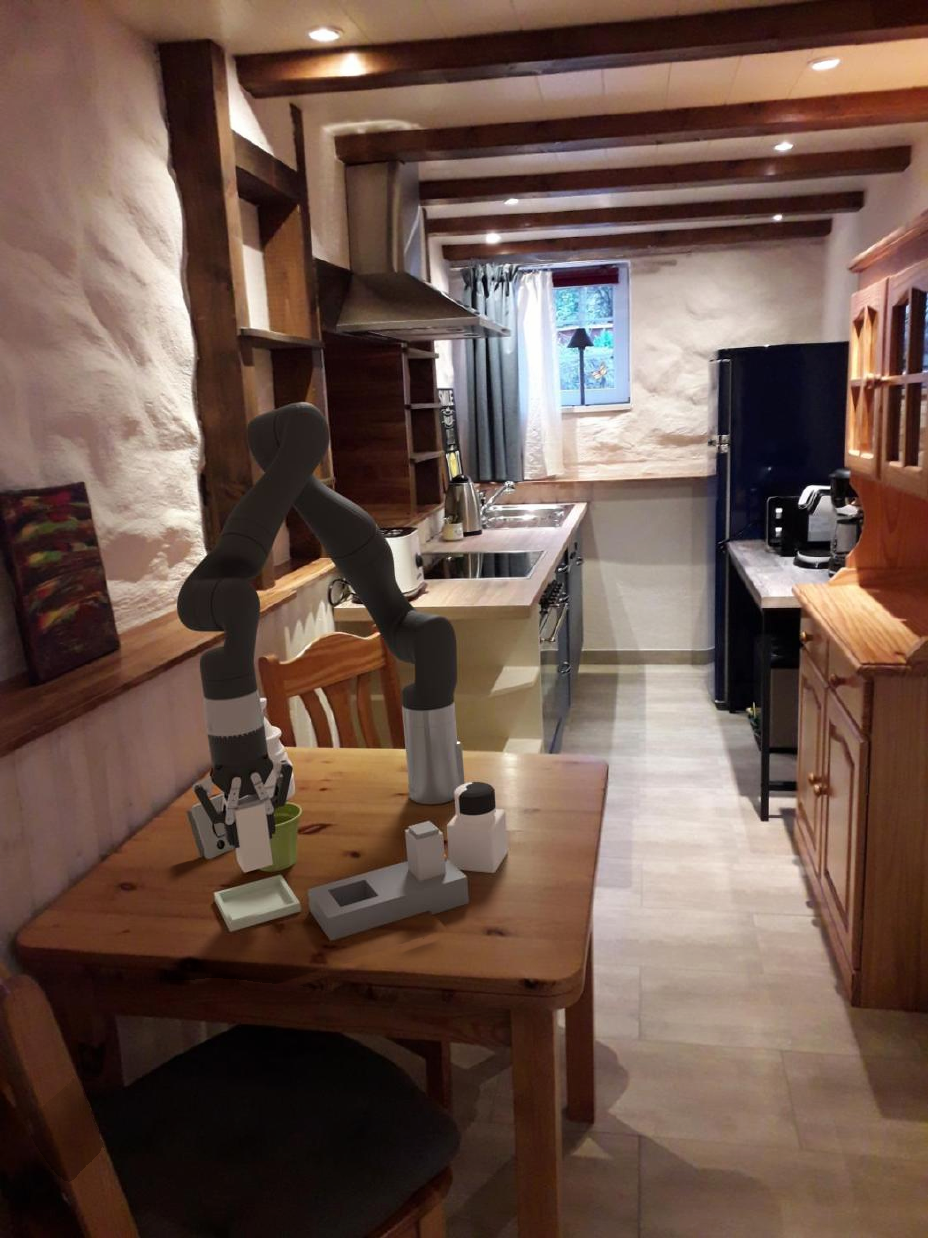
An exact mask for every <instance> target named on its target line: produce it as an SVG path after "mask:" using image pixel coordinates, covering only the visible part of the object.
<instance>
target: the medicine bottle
mask: <svg viewBox="0 0 928 1238" xmlns="http://www.w3.org/2000/svg"><path fill="white" fill-rule="evenodd" d="M454 796H455V799H454V806H455V815H454V816H453V817H452V818H451V820H450V821H449V822H448V823H447V825H446V835H447V849H448V860H449V861H450V862H451V863H452V864H453V865H455V866H456V867H457V868H458V869H459V870H460V871H469V872H476V873H477V872H478V873H479V872H480V873H487V874H488V873H489V874H494V873H496V871H497V869H499V867H500V865H501V864H502V862H503V860H504V859H505V857H506V856H507V853H508V851H509V849H508V836H507V819H506V811H505V810H504V809H497V807H496V806H497V805H496V790H495V788H494V787H493V786H492V785H491V784H489V783H487V782H482V781H471V782H470V781H469V782H466V783H465V784H463V785H461V786H459V787H458V788H457V789H456V790H455V792H454Z"/></svg>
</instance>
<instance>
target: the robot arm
mask: <svg viewBox="0 0 928 1238" xmlns="http://www.w3.org/2000/svg"><path fill="white" fill-rule="evenodd" d="M329 428H330V427H329V424H328V422H327V419H326V418H325V415H324V414H323V413H322V411H321V410H320V409H319V408H318V407H316V406H315V405H314V404H312V403H310V402H305V401H300V402H293V403H290V404H287V405H284V406H281V407H278V408H276V409H273V410H271V411H266V412H265V413H262V414H259V415H257V416H256V417H253V418H251V420H250V421H249V423H248V425H247V426H246V438H245V439H246V443H247V446H248V449H249V451H250V454H251V455H252V457H253V459H254V461H255V462H256V463H257V465H258V467H259V468H260V469H261V471H262V472H263V474H262V475H261V476H260V478H259V479H258V480H257V481H256V482H255V483H254V485H253V486H252V487H251V488H250V489H248V490H247V492H246V493H245V494H244V495H243V496H242V497H241V499H240V500H239V501H238V502H237V503H236V505H234V506H235V507H233V508H232V511H231V512H230V513H229V515H228V517H227V519H226V521H225V523H224V526H223V528H222V530H221V532H220V534H219V537H218V538H217V541H216V542H215V545H214V547H213V548H212V549H211V550H210V551H209V553H208V554H207V555H205V556H204V558H203V559H202V560H201V561H200V562H199V563H198V565H197V566H196V567H195V568H194V569H193V570H192V571H191V572H190V574H189V575H188V576H187V577H186V579H185V580H184V582H183V584H182V585H181V587H180V589H179V590H180V591H179V593H178V595H177V601H176V611H177V616H178V618H179V620H180V622H181V624H182V625H183V626H184V627H185V628H187V629H188V630H191V631H194V632H204V633H207V632H208V633H209V632H210V633H213V632H214V633H215V632H216V633H217V632H219V633H220V632H221V633H222V632H223V633H225V638H224V643H223V645H221V646H217V647H213V648H211V649H209V650H207V651H205V652H204V653H203V654H202V655H201V656H200V659H199V670H200V671H199V672H200V678H201V680H200V681H201V684H202V686H201V687H202V693H203V698H204V699H203V702H204V705H203V707H204V710H203V711H204V713H203V714H204V720H205V726H206V733H207V739H208V741H207V742H208V747H209V754H210V758H211V759H210V760H211V769H210V772H209V776H207V777H205V778H204V779H202V780H201V781H197V780H196V781H192V783H191V789H192V790H193V792H194V794H195V795H196V797H197V799H198V800H199V803H201V804H202V806H203V808H204V809H205V811H206V813H207V815H208V816H209V818H210V820H211V821H212V823H213V824H217V823H223V824H224V829H225V836H226V840H227V842H228V843H229V845H230V846H231V845H232V846H233V847H234V849H235V850H236V848H239V841H238V834H237V827H236V823H235V821H234V819H235V812H234V809H236V808H237V804H238V799H240V798H242V797H244V796H246V795H257V796H258V798H259V799H260V800H261V803H262V802H263V803H264V804H265V810H266V817H267V825H268V832H269V839H272V834H275V831H276V828H275V820H274V811H275V810H276V809H277V808H278V807H283V806H284V805H285V804H286V802H287V801H288V800H287V795H288V790H289V785H290V780H291V775H292V771H293V772H294V769H293V765H292V766H291V765H290V764H289V763H288V762H287V761H286V760H282V761H281V762H272V760H271V759H270V758H269V755H268V749H267V741H266V734H265V726H264V717H265V713H264V710H262V705H261V700H260V698H261V697H260V694H259V688H258V683H257V675H256V667H255V651H256V642H257V635H258V628H259V621H260V614H261V601H260V596H259V593H258V592H257V590H256V588H255V586H254V585H253V584H252V583H251V582H250V580H253V579H255V578H256V577H258V576H259V575H260V574H261V572H262V571H263V569H264V567H265V565H266V562H267V560H268V558H269V557H270V553H271V551H272V549H273V546H274V543H275V541H276V538H277V536H278V534H279V532H280V530H281V527H282V524H283V523H284V521H285V519H286V517H287V516H288V514H289V512H290V510H291V509H292V507H293V508H294V509H295V510H296V511H297V513H298V515H299V516H300V517H301V518H302V519H303V521H304V522H305V524H306V525H307V527H308V528H309V529H310V531H311V532H312V533H313V535H314V536H315V538H316V539H317V540H318V541H319V543H320V545H321V546H322V548H323V550H324V551H325V553H326V554H327V555H328V557H329V558H330V560H331V562H332V563H333V564H334V567H336V569H337V570H338V571H339V573H340V574H341V575H342V577H343V578H344V579H345V580H346V582H347V583H348V584H349V586H350V587H351V589H352V590H353V592H354V593H355V595H356V596H357V598H358V599H359V601H360V602H361V603H362V605H363V606H364V608H365V609H366V611H367V612H368V614H369V615H370V617H371V620H372V621H373V623H374V625H375V627H376V628H377V630H378V632H379V634H380V635H381V637H382V640H383V641H384V643H385V646H387V648H388V650H389V651H390V653H391V654H392V656H394V657H395V658H396V659H398V660H399V661H401V662H403V663H405V664H410V665H414V682H411V683H408V684H406V685H405V686H403V688H402V689H401V691H400V698H401V709H402V710H401V712H402V722H403V734H404V745H405V757H406V769H407V781H408V783H407V784H408V790H409V791H408V792H409V799H411V801H412V802H415V803H417V804H421V805H440V804H445V803H448V802H452V801H455V796H454V792H455V790H456V789H457V788H458V787H459V786H461V785H463V784H466V783H465V770H464V768H465V766H464V757H463V756H464V754H463V743H462V742H461V741H459V740H458V735H457V733H458V732H457V720H456V711H455V710H456V707H455V690H456V687H457V684H458V651H457V650H458V647H457V636H456V632H455V629H454V625H453V624H452V623H451V621H450V620H449V619H448V618H447V617H445V616H444V615H440V614H436V613H430V612H423V611H419V610H418V609H416V608H415V607H414V606H413V605H412V604H411V602H410V600H408V599H407V597H406V596H405V594H404V593H403V591H402V590H401V588H400V586H399V584H398V581H397V577H396V571H395V560H394V553H393V551H392V548H391V545H390V544H389V542H388V540H387V538H386V537H385V535H384V534H383V532H382V531H381V529H380V528H379V526H378V524H377V523H376V522H375V520H374V518H373V517H372V516H371V515H370V514H369V513H368V512H367V511H366V510H364V508H362V507H360V506H359V505H358V504H356V503H354V502H353V501H352V500H350V499H348V498H347V497H345V496H343V495H341V494H340V493H338V492H336V491H335V490H333V489H331V488H330V487H328V486H327V485H326V484H324V483H323V482H322V481H321V480H320V479H319V478H318V477H317V476H316V475H315V474H314V472H315V471H316V470H317V468H318V466H319V465H320V464H321V462H322V460H323V459H324V458H325V455H326V454H327V451H328V448H329V446H330V445H329V444H330V429H329ZM272 770H274V775H275V776H276V777H277V779H276V783H275V788H274V793H273V797H271V798H270V799H269V796H268V794H267V791H266V789H265V787H264V785H265V783H266V781H267V779H268V777H269V775H270V773H271V771H272ZM213 785H215V786H216V787H217V788H218V789H220V791H221V792H223V806H222V811H216V809H215V808H214V806H213V804H212V802H211V801H210V796H211V795H212V794H213V793H212V792H213V790H212V788H213V787H212V786H213ZM286 800H287V801H286Z"/></svg>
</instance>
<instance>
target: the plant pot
mask: <svg viewBox="0 0 928 1238" xmlns="http://www.w3.org/2000/svg"><path fill="white" fill-rule="evenodd" d="M302 812H303V809H302V808H301V806H300V805H298V804H296V803H294V802H287V801H286V804H285V805H284V806H283V807H278V808H277V809H276V810H275V811H274V820H275V828H276V831H275V834H272V839H270V847H271V854H272V861H273V865H270V866H266V867H263V868H259V869H258V870H260V871H262V872H263V871H264V872H278V871H283V870H285V869H288V868H290V867H292V866H293V865H294V864H295V863H296V862H297V861H298V830H299V823H300V817H301V816H302Z"/></svg>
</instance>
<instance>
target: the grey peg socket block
mask: <svg viewBox="0 0 928 1238" xmlns="http://www.w3.org/2000/svg"><path fill="white" fill-rule="evenodd" d="M404 831H405V832H404V835H405V836H404V837H405V845H406V855H407V857H406V858H407V860H406V861H403V862H399V863H397V864H396V863H395V864H392V865H389V866H385V867H382V868H378V869H375V870H374V869H373V870H371V871H368V872H364V873H360V874H356V875H353V876H351V877H347V878H343V879H339V880H337V881H331V882H328V883H326V884H322V885H319V886H318V885H317V886H314V887H312V888H307V898H308V905H309V911H310V913H311V915H312V916H313V918H314V919H315V920H316V922H317V923H318V924H319V926H320V927H321V929H322V931H323V932H324V933H325V935H326V936H327V938H328V939H329V941H330V942H333V941H336V940H338V939H343V938H345V937H348V936H351V935H354V934H359V933H361V932H364V931H369V930H371V929H373V928H377V927H380V926H384V925H387V924H390V923H393V922H396V921H401V920H403V919H405V918H406V919H407V918H410V917H413V916H415V915H418V914H422V913H426V912H428V911H429V912H430V913H431V914H432V915H435V914H438V913H442V912H445V911H448V910H452V909H454V908H458V907H462V906H465V905H467V904H469V903H470V902H469V890H468V888H469V886H468V877H467V875H465V873H464V872H462V870H459V869H458V868H457V867H456V866H455V865H453V864H452V863H451V862H450V861H449V858H447V855H446V853H445V842H444V833H443V832H442V831H441V830H440V829H439V828H438V827H437V826H436V825H434V824H433V823H432V821H430V820H427V821H424V822H420V823H415V824H412V825H409V826H408V828H407V829H405V830H404Z"/></svg>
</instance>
